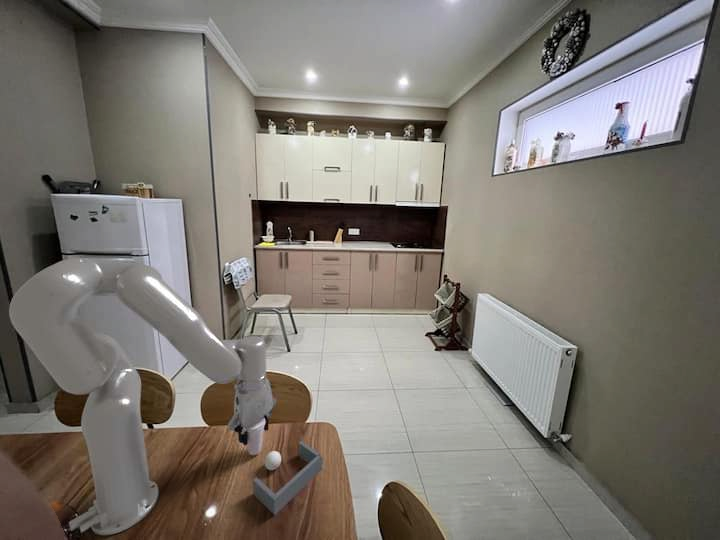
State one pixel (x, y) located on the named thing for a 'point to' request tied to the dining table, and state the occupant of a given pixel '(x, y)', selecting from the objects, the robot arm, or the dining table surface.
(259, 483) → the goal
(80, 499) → the dining table surface
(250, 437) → the smoothie
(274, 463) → the ball
